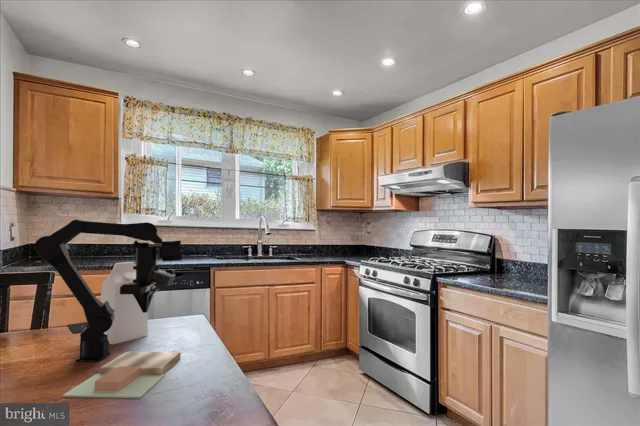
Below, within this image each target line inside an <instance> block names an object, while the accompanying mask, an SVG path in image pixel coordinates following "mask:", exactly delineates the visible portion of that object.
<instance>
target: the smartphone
mask: <svg viewBox="0 0 640 426" xmlns="http://www.w3.org/2000/svg"><path fill="white" fill-rule="evenodd" d="M87 325H88V322H87V321H84V322H75V323H70V324H67V325H66V327H67V328H68V327H69V328H68V329H69V330H70V332H71V333H72V334H73V335H77V334H81V333H82V331H83V330H84V328H85V327H86V326H87ZM82 326H83V327H82Z"/></svg>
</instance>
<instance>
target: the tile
mask: <svg viewBox="0 0 640 426" xmlns="http://www.w3.org/2000/svg"><path fill="white" fill-rule="evenodd" d="M140 375H141V367H121V366H119V367H117V368H115V369H114V370H112V371H111V372H109V373H107V374H106V375H104V376H103V377H101V378H99V379H98V380H96V381H95V389H94V390H107V391H120V390H121V389H122V388H124V387H125V386H126V385H128V384H129V383H131V382H132V381H133V380H135V379H136V378H137V377H139V376H140Z"/></svg>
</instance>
